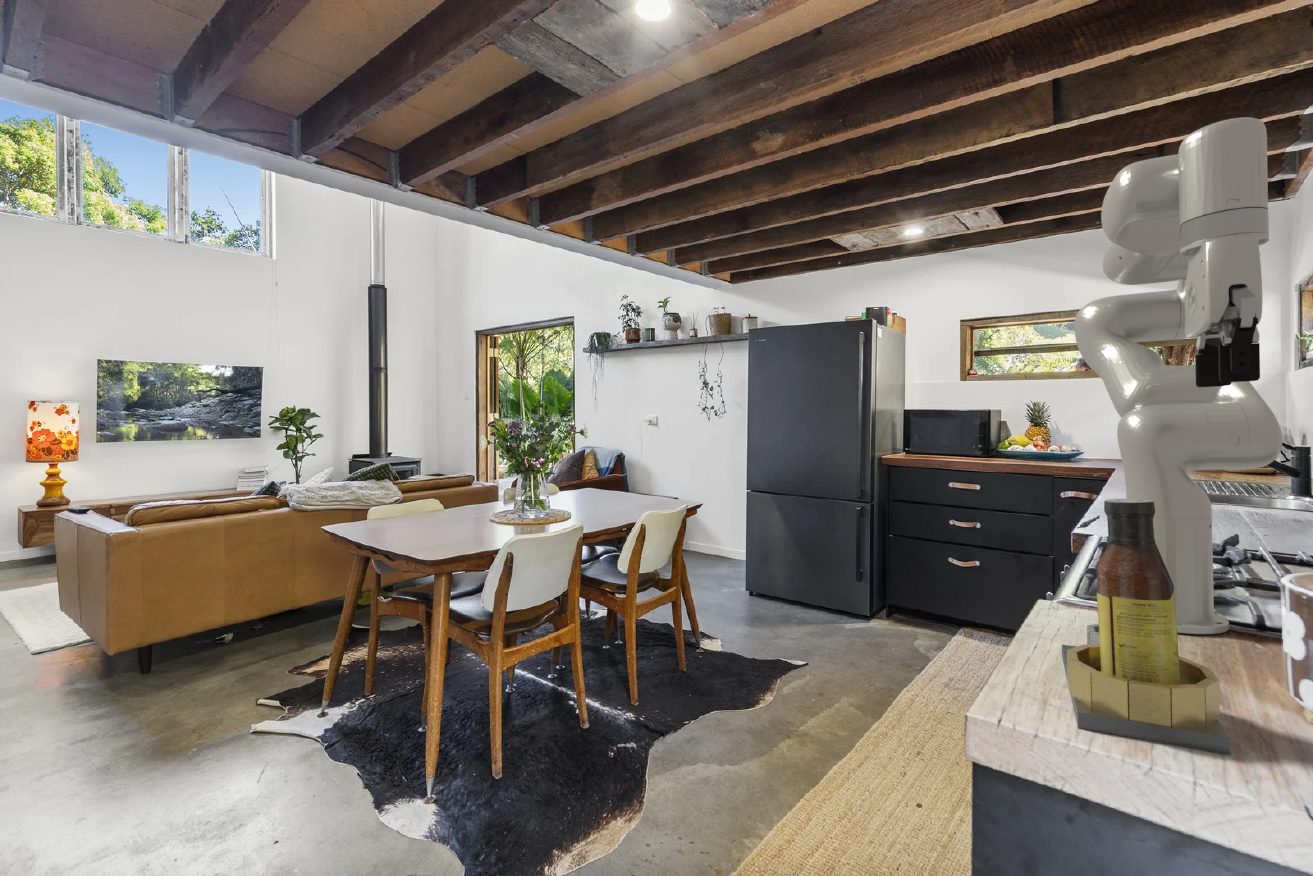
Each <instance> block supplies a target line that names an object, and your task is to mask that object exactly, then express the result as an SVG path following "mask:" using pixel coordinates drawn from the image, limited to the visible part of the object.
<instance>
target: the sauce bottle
mask: <svg viewBox="0 0 1313 876" xmlns="http://www.w3.org/2000/svg"><path fill="white" fill-rule="evenodd" d="M1103 502H1104V504H1103V505H1104V506H1103V507H1104V508H1103V510H1104V513H1105V515H1106V516H1107V519H1106V520H1107V536H1106V539H1107V546H1106V548H1105V551H1104V552H1103V554H1102V555H1101V556H1100V558H1099V559H1098V561H1097V562H1096V569H1095V570H1096V579H1097V581H1096V582H1097V583H1096V584H1097V585H1096V586H1097V591H1096V599H1097V601H1096V604H1097V618H1098V621H1097V622H1098V624H1099V639H1100V657H1101V672H1104V673H1107V674H1111V675H1114V676H1118V677H1121V678H1125V679H1128V680H1134V681H1141V682H1148V683H1155V684H1162V685H1180V672H1179V656H1180V655H1179V641H1178V639H1179V637H1178V633H1177V625H1176V610H1175V594H1174V585H1173V583H1172V580H1171V578H1170V576H1169V573H1168V571H1167V569H1166V566H1165V564H1164V562H1163V559H1162V557H1161V554H1160V552H1159V550H1158V548H1157V545H1156V543H1155V538H1154V527H1153V517H1154V514H1155V506H1154V502H1153V501H1151V500H1146V499H1145V500H1144V499H1126V498H1109V499H1105V500H1104V501H1103Z"/></svg>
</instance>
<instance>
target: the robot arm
mask: <svg viewBox="0 0 1313 876" xmlns="http://www.w3.org/2000/svg"><path fill="white" fill-rule="evenodd" d="M1266 127H1267V126H1266V125H1265V123H1264V122H1263V121H1262V120H1260V119H1259V118H1255V117H1251V116H1249V117H1246V116H1244V117H1235V118H1230V119H1229V118H1228V119H1224V120H1220V121H1217V122H1214V123H1213V122H1212V123H1210V124H1208V125H1205V126H1203V127H1201V128H1199V129H1196V130H1195V131H1192V132H1191V133H1190V134H1189V135H1187V136H1186V137H1185V138H1184V139H1183V140H1182V142H1181V144H1180V146H1179V148H1178V151H1177V152H1178V153H1176V154H1171V155H1165V156H1160V157H1154V158H1148V159H1143V160H1139V161H1135V162H1133V163H1130V164H1128V165H1126V166H1124V167H1123V168H1122V169H1121V170H1119V171H1118V172H1117V174H1116V175H1115V177H1114V178H1113V179H1112V182H1111V184H1110V185H1109V187H1108V189H1107V191H1106V193H1105V195H1104V197H1103V201H1102V206H1101V215H1100V220H1101V226H1102V229H1103V232H1104V234H1105V236H1106V237H1107V239H1108V240H1109V241H1110V242H1111V244H1110V245H1109V247H1108V249H1107V250H1106V252H1105V254H1104V256H1103V259H1102V265H1101V266H1102V270H1103V272H1104V274H1105V276H1106V278H1108V279H1109V280H1111V281H1112V282H1114V283H1116V284H1119V285H1128V286H1133V285H1135V286H1137V285H1139V286H1140V285H1147V284H1148V285H1149V284H1159V283H1167V282H1176V281H1178V283H1177V287H1176V289H1171V290H1169V289H1168V290H1161V291H1160V290H1159V291H1150V292H1149V291H1148V292H1140V293H1139V292H1137V293H1130V294H1119V295H1113V296H1112V295H1111V296H1106V297H1101V298H1099V299H1095V300H1093V301H1090V302H1089V303H1086V304H1084V306H1083V307H1081V308H1079V311H1078V312H1077V314H1076V316H1075V319H1074V327H1073V328H1074V339H1075V341H1076V345H1077V348H1078V351H1079V353H1080V355H1081V357H1082V359H1083V360H1084V362H1085V363H1086V364H1087V366H1088V367H1089V368H1090V369H1091V370H1092V371H1093V372H1094V373H1095V374H1096V375H1097V376H1098V377H1099V378H1100V379H1101V380H1102V381H1103V383H1104V384H1103V385H1104V386H1105V389H1106V391H1107V393H1108V397H1109V398H1110V400H1111V402H1112V404H1113V407H1114V409H1115V411H1116V413H1117V414H1118V415H1119V417H1120V420H1119V422H1118V425H1117V429H1116V431H1117V433H1116V434H1117V435H1116V436H1117V443H1118V448H1119V453H1120V458H1121V462H1122V466H1123V467H1122V468H1123V473H1124V474H1123V475H1124V481H1125V483H1124V484H1125V499H1144V500H1145V499H1146V500H1151V501H1153V502H1154V506H1155V514H1154V517H1153V527H1154V538H1155V543H1156V545H1157V548H1158V550H1159V552H1160V554H1161V557H1162V559H1163V562H1164V564H1165V566H1166V569H1167V571H1168V573H1169V576H1170V578H1171V580H1172V583H1173V585H1174V594H1175V610H1176V625H1177V634H1187V635H1188V634H1189V635H1190V634H1191V635H1217V634H1223V633H1226V632H1227V631H1229V629H1230V621H1229V620H1228V619H1227V618H1226V617H1224V616H1222V615H1220V614H1217V613H1214V612H1215V611H1214V609H1215V608H1214V604H1215V603H1214V602H1215V601H1214V558H1213V557H1214V555H1213V552H1214V551H1213V550H1214V547H1213V511H1212V509H1213V507H1212V504H1211V503H1212V502H1211V500H1210V498H1209V496H1208V495H1207V493H1206V492H1205V491H1204V489H1203V488H1202V487H1201V486H1200V485H1199V484H1198V483H1196V482H1195V481H1194V480H1193V479H1192V477H1191V476H1190V475H1189V474H1188V472H1189V471H1207V470H1208V471H1211V470H1212V471H1216V470H1217V471H1221V470H1222V471H1237V470H1239V471H1241V470H1245V471H1246V470H1253V469H1254V470H1257V469H1260V468H1263V467H1266V466H1268V465H1270V464H1271V463H1272V462H1274V461H1275V460H1276V459H1277V458H1278V457H1279V455H1280V454H1281V450H1282V446H1283V433H1282V429H1281V426H1280V423H1279V422H1278V421H1279V420H1278V419H1277V417H1276V415H1275V414H1274V412H1273V410H1272V409H1271V408H1270V406H1269V405H1268V404H1267V403H1266V401H1265V399H1264V398H1263V397H1262V396H1261V395H1260V393H1259V392H1258V391H1257V390H1256V388H1255V386H1253V385H1252V383H1251V382H1256V381H1258V380H1259V379H1261V357H1260V353H1261V350H1260V342H1259V341H1260V332H1259V330H1258V327H1257V325H1259V324H1260V322H1261V320H1262V314H1263V277H1262V264H1261V252H1260V246H1262V245H1264V244H1266V243H1267V242H1269V241H1270V238H1269V235H1270V231H1269V230H1270V228H1269V226H1270V223H1269V222H1270V219H1269V196H1268V195H1269V193H1268V190H1269V188H1268V187H1269V186H1268V181H1269V179H1268V133H1267V128H1266ZM1187 338H1189V339H1194V338H1196V340H1195V341H1196V345H1195V355H1194V357H1195V358H1194V360H1195V361H1194V363H1195V364H1190V365H1188V364H1187V365H1166V363H1165V362H1164V360H1163V358H1162V357H1161V356H1160V355H1159V354H1158V353H1157V352H1156V351H1154V350H1153V349H1151V348H1149V346H1148V347H1147V346H1146V345H1144V344H1141V343H1149V342H1163V341H1177V340H1183V339H1187Z"/></svg>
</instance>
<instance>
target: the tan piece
mask: <svg viewBox="0 0 1313 876" xmlns="http://www.w3.org/2000/svg"><path fill="white" fill-rule="evenodd" d="M1086 640H1087V641H1086V642H1087V643H1086V644H1080V645H1069V644H1061V658H1062V662H1063V667H1064V671H1065V676H1066V681H1067V686H1068V691H1069V694H1070V698H1071V703H1072V706H1073V707H1072V708H1073V711H1074V717H1075V721H1076V724H1077V729H1082V730H1088V731H1093V732H1099V733H1106V734H1111V735H1116V736H1122V737H1128V738H1133V739H1136V740H1137V739H1138V740H1143V741H1148V742H1156V743H1159V744H1160V743H1161V744H1166V745H1170V746H1171V745H1172V746H1178V747H1181V748H1182V747H1184V748H1186V749H1187V748H1188V749H1193V750H1198V751H1199V750H1200V751H1206V752H1210V753H1216V754H1221V755H1226V756H1227V755H1228V756H1231V755H1232V745H1231V744H1232V743H1231V742H1232V739H1231V737H1230V735H1229V733H1228V732H1227V731H1226V729H1225V728H1224V726H1223V725H1222V723H1221V722H1220V721H1219V719H1221V709H1220V707H1221V704H1220V703H1221V702H1220V679H1219V678H1218V676H1216V674H1215V673H1214V671H1212V670H1211V669H1210V667H1206V666H1204V665H1202V664H1200V663H1197V662H1195V661H1193V660H1190V659H1188V658H1185V657H1182V656H1180V655H1179V672H1180V685H1162V684H1155V683H1148V682H1141V681H1134V680H1128V679H1125V678H1121V677H1118V676H1114V675H1111V674H1107V673H1104V672H1101V657H1100V639H1099V623H1096V624H1094V623H1093V624H1088V625H1086Z"/></svg>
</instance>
